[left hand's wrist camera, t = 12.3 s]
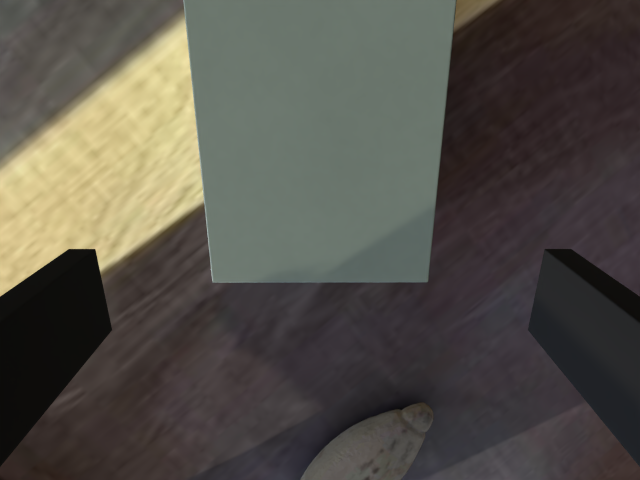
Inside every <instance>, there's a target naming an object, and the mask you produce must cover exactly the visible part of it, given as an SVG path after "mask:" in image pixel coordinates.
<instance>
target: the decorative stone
mask: <svg viewBox="0 0 640 480" xmlns="http://www.w3.org/2000/svg"><path fill="white" fill-rule="evenodd" d="M433 419H434V417H433V411H432V409H431V408H430V407H429V406H428V405H427V404H425V403H417V404H413V405H410V406H408V407H406V408H404V409H403V410H399V409H395V410H391V411H388V412H385V413H382V414H379V415H377V416H373V417H370V418H367V419H365V420H363V421H361V422H359V423H357V424H355V425H353V426H351V427H350V428H348V429H347V430H345V431H344V432H342V433H341V434H340V435H338V436H337V437H336V438H335V439H333V440H332V441H331V442H330V443H329V444H328V445H327V446H325V447H324V448H323V449H322V450H321V451H320V453H319V454H318V455H317V456H316V457H315V458H314V460H313V461H312V462H311V463H310V465H309V466H308V468H307V469H306V471H305V472H304V474H303V476H302V478H301V479H300V480H401V479H402V478H403V476H404V475H405V474H406V473H407V470H408V469H409V468H410V466H411V465H412V463H413V461H414V459H415V457H416V455H417V453H418V451H419V449H420V448H421V446H422V443H423V441H424V439H425V432H427V431H428V430H429V428H430V426H431V424H432V422H433Z"/></svg>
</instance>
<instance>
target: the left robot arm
mask: <svg viewBox="0 0 640 480" xmlns="http://www.w3.org/2000/svg"><path fill="white" fill-rule="evenodd" d="M111 331H112V328H111V323H110V318H109V313H108V308H107V304H106V299H105V294H104V289H103V284H102V280H101V275H100V270H99V265H98V260H97V255H96V251H95V249H68V250H67V251H66V252H64V253H63V254H61V255H60V256H58V257H57V258H55V259H54V260H53V261H51V262H50V263H48V264H47V265H45V266H44V267H42V268H41V269H40V270H38V271H37V272H35V273H34V274H32V275H31V276H29V277H28V278H27V279H25V280H24V281H22V282H21V283H19V284H18V285H16V286H15V287H14V288H12V289H11V290H9V291H8V292H6V293H5V294H3V295H2V296H1V297H0V466H1V465H2V464H3V463H4V461H5V460H6V459H7V458H8V457H9V455H10V454H11V453H12V452H13V450H14V449H15V448H16V447H17V446H18V444H19V443H20V442H21V441H22V439H23V438H24V437H25V436H26V435H27V433H28V432H29V431H30V430H31V428H32V427H33V426H34V425H35V424H36V422H37V421H38V420H39V419H40V417H41V416H42V415H43V414H44V412H45V411H46V410H47V409H48V408H49V406H50V405H51V404H52V403H53V401H54V400H55V399H56V398H57V397H58V395H59V394H60V393H61V392H62V390H63V389H64V388H65V387H66V386H67V384H68V383H69V382H70V381H71V379H72V378H73V377H74V376H75V375H76V373H77V372H78V371H79V370H80V368H81V367H82V366H83V365H84V364H85V362H86V361H87V360H88V359H89V357H90V356H91V355H92V354H93V353H94V351H95V350H96V349H97V348H98V346H99V345H100V344H101V343H102V342H103V340H104V339H105V338H106V337H107V335H108V334H109V333H110V332H111ZM528 331H529V332H530V333H531V334H532V335H533V337H534V338H535V339H536V340H537V342H538V343H539V344H540V345H541V346H542V348H543V349H544V350H545V351H546V353H547V354H548V355H549V356H550V357H551V359H552V360H553V361H554V362H555V364H556V365H557V366H558V367H559V368H560V370H561V371H562V372H563V373H564V375H565V376H566V377H567V378H568V379H569V381H570V382H571V383H572V384H573V386H574V387H575V388H576V389H577V390H578V392H579V393H580V394H581V395H582V397H583V398H584V399H585V400H586V401H587V403H588V404H589V405H590V406H591V408H592V409H593V410H594V411H595V413H596V414H597V415H598V416H599V417H600V419H601V420H602V421H603V422H604V424H605V425H606V426H607V427H608V428H609V430H610V431H611V432H612V433H613V435H614V436H615V437H616V438H617V439H618V441H619V442H620V443H621V444H622V446H623V447H624V448H625V449H626V450H627V452H628V453H629V454H630V455H631V457H632V458H633V459H634V460H635V461H636V463H637V464H638V465H639V466H640V297H639V296H638V295H637V294H635V293H634V292H632V291H631V290H629V289H628V288H626V287H625V286H624V285H622V284H621V283H619V282H618V281H616V280H615V279H613V278H612V277H611V276H609V275H608V274H606V273H605V272H603V271H602V270H600V269H599V268H598V267H596V266H595V265H593V264H592V263H590V262H589V261H587V260H586V259H585V258H583V257H582V256H580V255H579V254H577V253H576V252H574V251H573V250H572V249H545V251H544V255H543V260H542V265H541V270H540V275H539V280H538V284H537V289H536V294H535V299H534V304H533V308H532V313H531V318H530V323H529V328H528Z"/></svg>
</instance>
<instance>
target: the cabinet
mask: <svg viewBox="0 0 640 480" xmlns="http://www.w3.org/2000/svg"><path fill="white" fill-rule="evenodd" d="M455 9H456V0H184V10H185V20H186V29H187V39H188V49H189V58H190V68H191V78H192V87H193V97H194V107H195V116H196V126H197V136H198V146H199V155H200V165H201V175H202V184H203V194H204V204H205V213H206V223H207V233H208V243H209V252H210V262H211V272H212V281H213V282H428V276H429V266H430V256H431V247H432V237H433V227H434V217H435V207H436V197H437V187H438V177H439V167H440V158H441V148H442V138H443V128H444V118H445V108H446V98H447V88H448V78H449V69H450V59H451V49H452V39H453V29H454V19H455Z"/></svg>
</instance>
